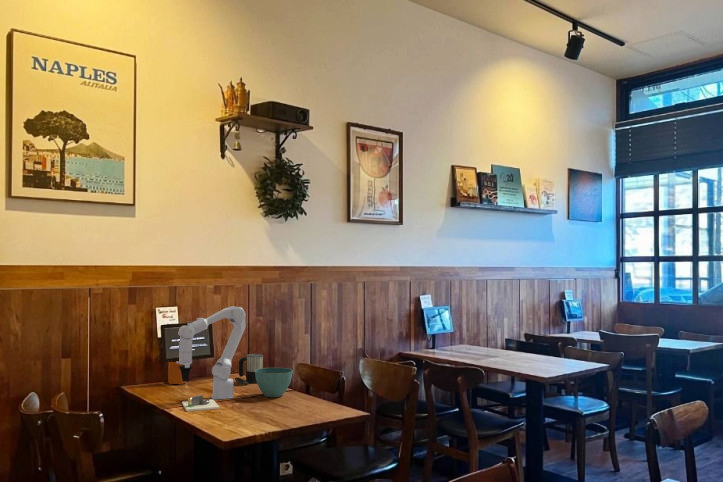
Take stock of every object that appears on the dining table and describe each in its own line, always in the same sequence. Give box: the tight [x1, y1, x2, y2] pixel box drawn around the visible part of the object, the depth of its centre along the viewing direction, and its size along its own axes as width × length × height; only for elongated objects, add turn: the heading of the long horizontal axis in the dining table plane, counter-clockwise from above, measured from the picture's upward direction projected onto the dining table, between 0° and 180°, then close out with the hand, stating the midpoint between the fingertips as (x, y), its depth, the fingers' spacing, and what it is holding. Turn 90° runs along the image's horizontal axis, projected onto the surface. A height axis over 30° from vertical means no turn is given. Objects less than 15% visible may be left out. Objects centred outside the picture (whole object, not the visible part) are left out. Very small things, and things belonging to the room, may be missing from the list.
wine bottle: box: [167, 327, 188, 385], centre depth 323 cm, size 10×10×30 cm
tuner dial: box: [187, 394, 210, 406], centre depth 268 cm, size 11×5×3 cm, turn 143°
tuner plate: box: [181, 398, 220, 412], centre depth 269 cm, size 14×17×1 cm
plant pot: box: [255, 367, 294, 398], centre depth 293 cm, size 18×18×12 cm
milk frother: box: [234, 353, 264, 386], centre depth 325 cm, size 14×16×15 cm
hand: (184, 381), depth 278 cm, fingers closed
